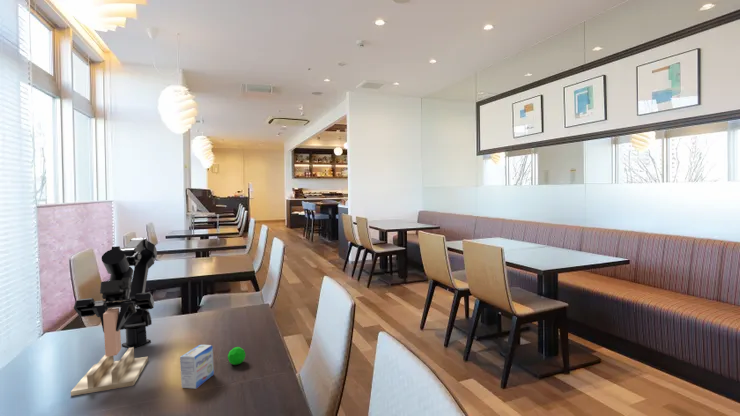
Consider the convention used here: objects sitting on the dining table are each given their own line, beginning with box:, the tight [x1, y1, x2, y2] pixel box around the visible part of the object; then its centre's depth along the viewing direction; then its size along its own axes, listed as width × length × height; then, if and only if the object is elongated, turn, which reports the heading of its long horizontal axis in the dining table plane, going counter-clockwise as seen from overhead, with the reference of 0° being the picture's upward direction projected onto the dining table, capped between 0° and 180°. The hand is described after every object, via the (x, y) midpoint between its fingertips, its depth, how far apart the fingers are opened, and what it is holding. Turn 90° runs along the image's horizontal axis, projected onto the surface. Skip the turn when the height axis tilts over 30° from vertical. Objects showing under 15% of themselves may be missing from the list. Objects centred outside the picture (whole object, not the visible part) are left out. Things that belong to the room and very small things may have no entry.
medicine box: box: [179, 344, 215, 390], centre depth 100 cm, size 8×4×9 cm, turn 168°
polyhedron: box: [227, 346, 246, 366], centre depth 110 cm, size 5×5×5 cm
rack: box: [70, 347, 149, 397], centre depth 104 cm, size 16×14×5 cm
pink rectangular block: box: [103, 307, 122, 357], centre depth 104 cm, size 4×3×12 cm, turn 20°
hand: (110, 331), depth 102 cm, fingers closed on pink rectangular block, 3 cm apart
